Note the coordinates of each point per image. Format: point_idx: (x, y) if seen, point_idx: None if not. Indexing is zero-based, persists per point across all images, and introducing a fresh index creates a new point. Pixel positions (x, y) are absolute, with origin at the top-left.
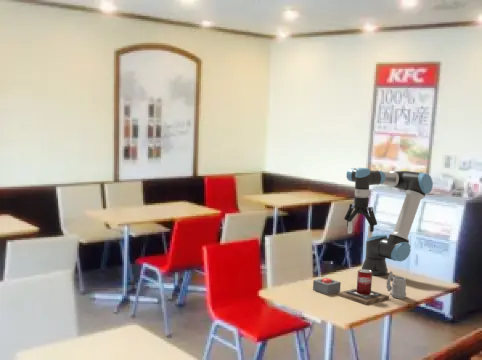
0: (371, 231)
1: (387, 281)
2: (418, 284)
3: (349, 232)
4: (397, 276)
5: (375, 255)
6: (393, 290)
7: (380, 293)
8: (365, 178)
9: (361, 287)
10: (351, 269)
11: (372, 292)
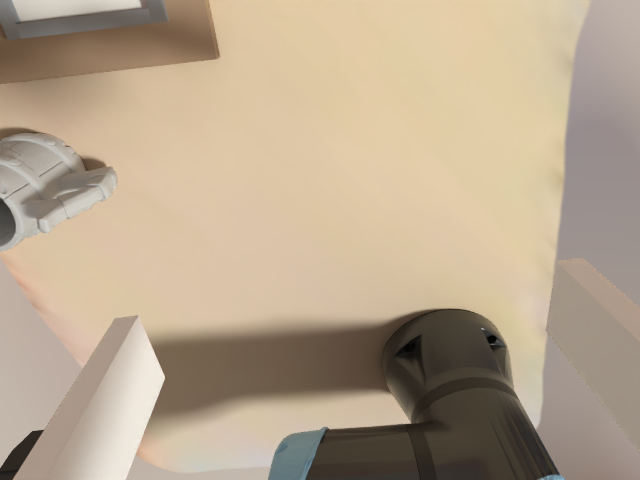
0: (30, 437)
1: (93, 185)
2: (208, 382)
3: (564, 286)
4: (16, 230)
5: (442, 412)
6: (18, 145)
7: (59, 75)
8: None
9: None
10: (545, 302)
11: (61, 17)
